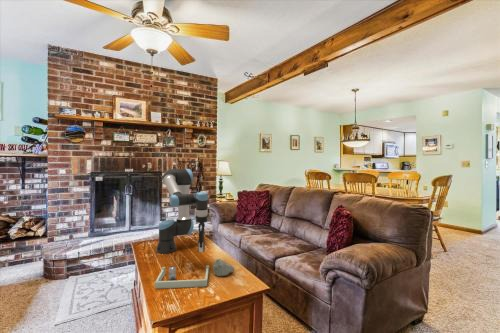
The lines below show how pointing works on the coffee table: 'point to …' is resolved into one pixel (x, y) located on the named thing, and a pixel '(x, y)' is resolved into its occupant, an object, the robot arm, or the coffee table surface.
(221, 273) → the decorative stone
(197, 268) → the coffee table surface
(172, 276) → the metal cylinder
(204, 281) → the bay
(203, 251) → the walnut block
